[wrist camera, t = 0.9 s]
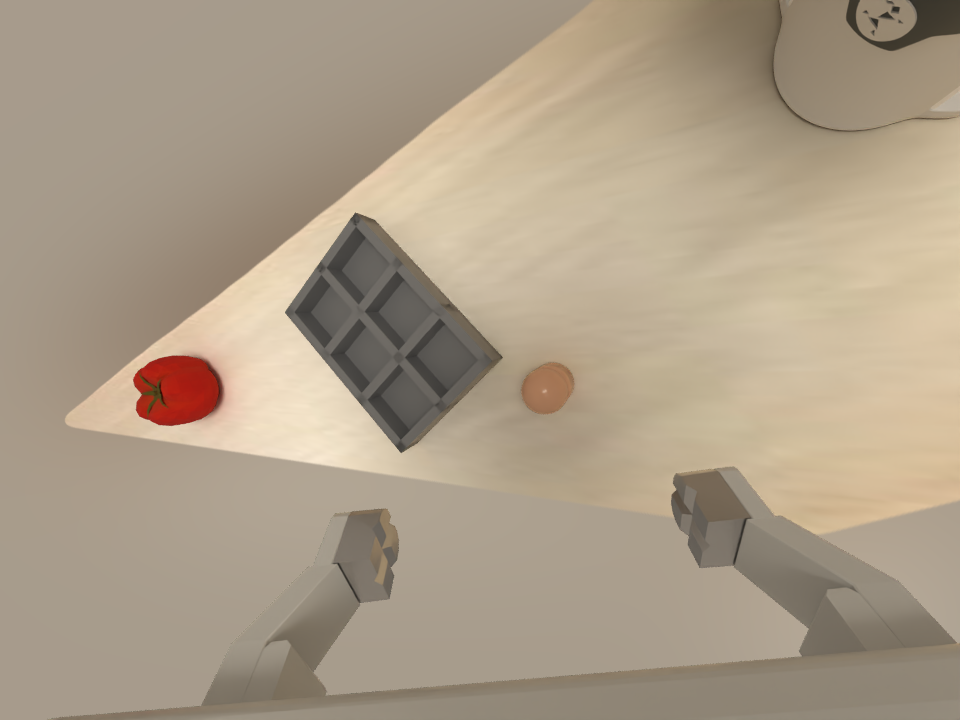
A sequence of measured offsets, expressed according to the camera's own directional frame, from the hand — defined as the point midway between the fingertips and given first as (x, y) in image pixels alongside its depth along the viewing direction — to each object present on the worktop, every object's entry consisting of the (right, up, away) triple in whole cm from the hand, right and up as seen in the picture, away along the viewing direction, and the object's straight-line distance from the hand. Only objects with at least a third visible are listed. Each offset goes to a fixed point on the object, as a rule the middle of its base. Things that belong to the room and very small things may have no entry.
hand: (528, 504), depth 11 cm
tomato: (-48, 0, +56) cm, 73 cm away
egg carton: (-13, +8, +42) cm, 44 cm away
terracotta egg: (+7, +1, +35) cm, 36 cm away
